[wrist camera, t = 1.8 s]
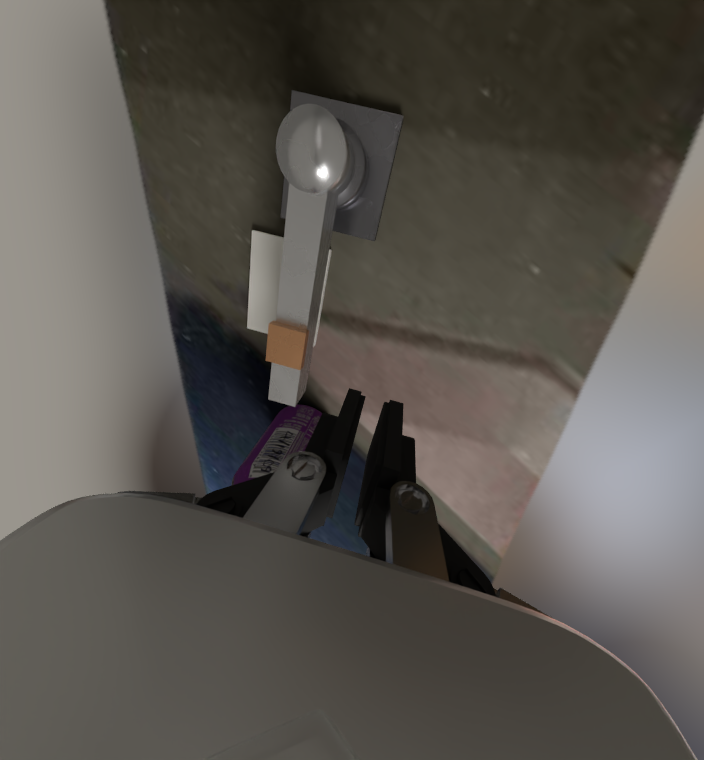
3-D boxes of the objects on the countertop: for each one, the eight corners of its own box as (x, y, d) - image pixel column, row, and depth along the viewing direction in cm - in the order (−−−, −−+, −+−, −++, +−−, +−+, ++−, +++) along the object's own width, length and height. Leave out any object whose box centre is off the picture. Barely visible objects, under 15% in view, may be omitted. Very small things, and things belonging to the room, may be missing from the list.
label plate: (255, 229, 26) (251, 230, 26) (331, 249, 26) (329, 250, 25) (249, 326, 30) (246, 328, 30) (315, 344, 30) (313, 347, 29)
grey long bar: (300, 117, 19) (277, 93, 16) (361, 131, 19) (351, 110, 15) (273, 381, 28) (255, 401, 25) (314, 392, 28) (300, 414, 25)
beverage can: (265, 423, 36) (205, 504, 25) (302, 389, 33) (251, 465, 22) (308, 460, 37) (269, 551, 27) (347, 431, 34) (320, 521, 24)
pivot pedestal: (295, 94, 22) (276, 72, 19) (403, 119, 21) (402, 100, 18) (284, 217, 25) (266, 216, 22) (375, 240, 25) (370, 242, 22)
